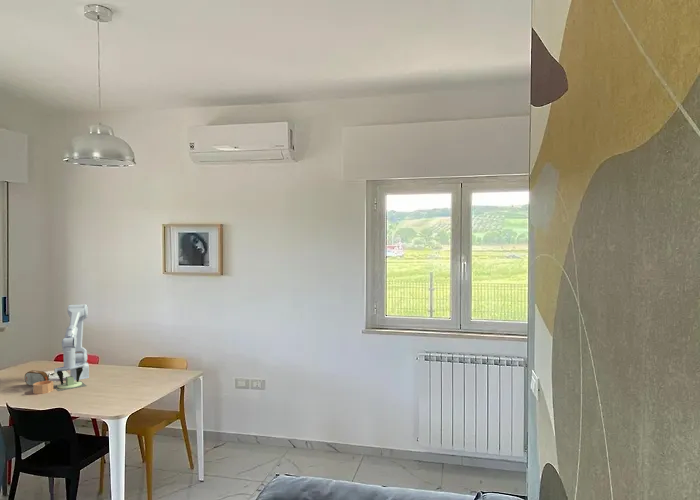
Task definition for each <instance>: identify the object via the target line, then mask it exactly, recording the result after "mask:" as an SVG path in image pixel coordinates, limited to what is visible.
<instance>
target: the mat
mask: <svg viewBox="0 0 700 500" xmlns="http://www.w3.org/2000/svg"><path fill="white" fill-rule="evenodd" d="M79 382H82V385H81V386H79V387H75V388H70V389H58V388H57V386H58V385H59V384H56V385H54V384H53V389H55V390H56V391H57V392H61V391H68V390H73V389H78V388H84V387H87V384H85V383H84V382H83V381H81V380H79Z"/></svg>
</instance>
